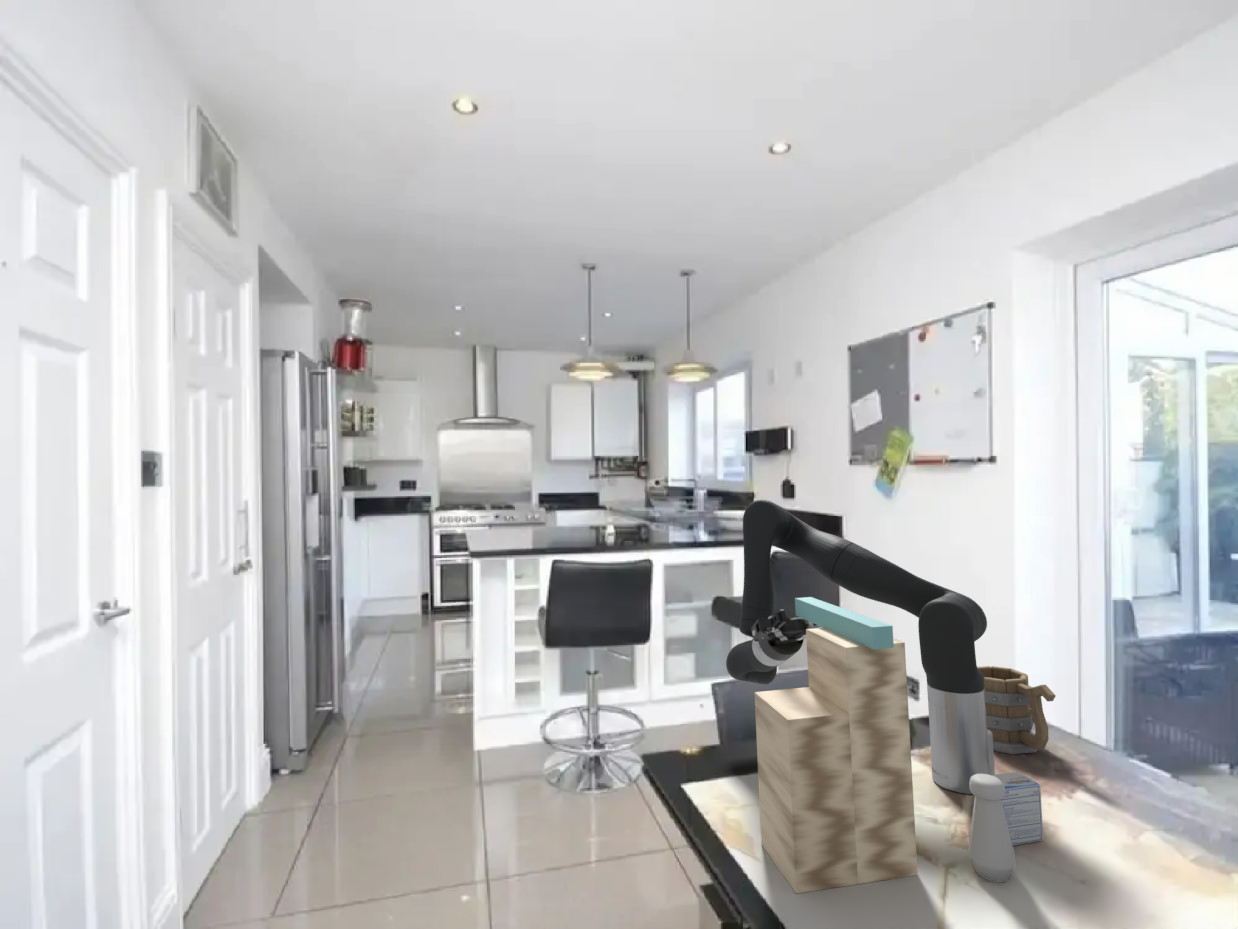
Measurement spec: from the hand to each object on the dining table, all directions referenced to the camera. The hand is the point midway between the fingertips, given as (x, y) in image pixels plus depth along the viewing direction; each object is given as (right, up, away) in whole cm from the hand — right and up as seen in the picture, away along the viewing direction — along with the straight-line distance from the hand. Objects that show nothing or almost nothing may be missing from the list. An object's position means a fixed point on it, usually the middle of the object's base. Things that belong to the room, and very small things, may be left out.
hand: (807, 613), depth 108 cm
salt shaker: (+19, -31, -21) cm, 42 cm away
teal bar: (+2, 0, -11) cm, 11 cm away
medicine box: (+27, -31, -13) cm, 43 cm away
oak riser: (-1, -32, -16) cm, 36 cm away
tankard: (+47, -32, +18) cm, 60 cm away
